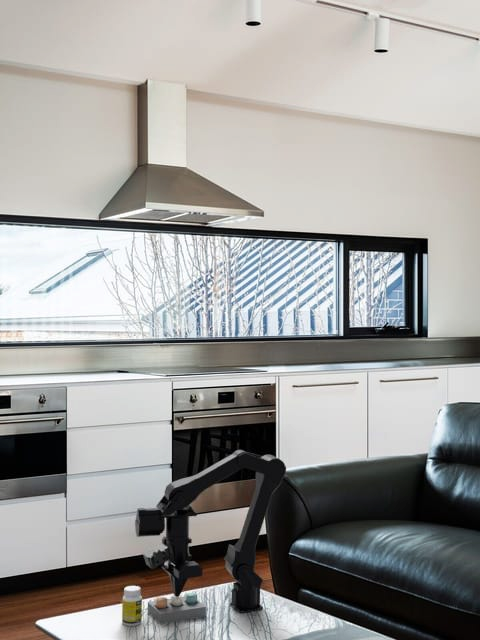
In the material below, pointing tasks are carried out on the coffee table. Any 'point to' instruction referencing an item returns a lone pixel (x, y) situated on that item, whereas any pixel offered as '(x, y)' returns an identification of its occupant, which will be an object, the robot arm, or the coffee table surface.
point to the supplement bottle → (132, 606)
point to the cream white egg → (176, 601)
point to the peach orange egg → (161, 602)
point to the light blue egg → (191, 598)
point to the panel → (176, 611)
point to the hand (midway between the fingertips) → (176, 596)
